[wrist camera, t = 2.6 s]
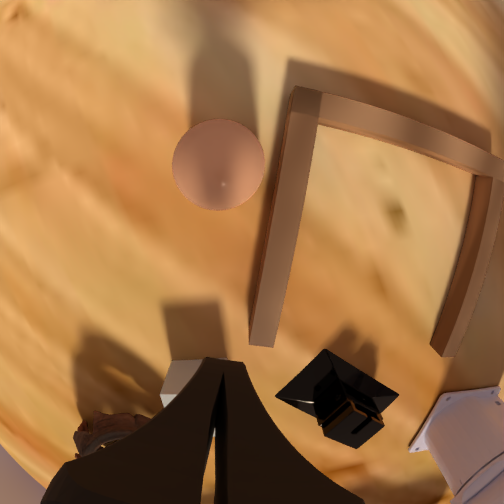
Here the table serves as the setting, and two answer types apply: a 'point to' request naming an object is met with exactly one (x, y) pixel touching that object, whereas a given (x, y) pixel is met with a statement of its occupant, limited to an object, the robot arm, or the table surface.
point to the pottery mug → (105, 431)
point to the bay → (397, 133)
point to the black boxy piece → (339, 399)
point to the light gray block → (178, 378)
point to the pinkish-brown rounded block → (218, 164)
